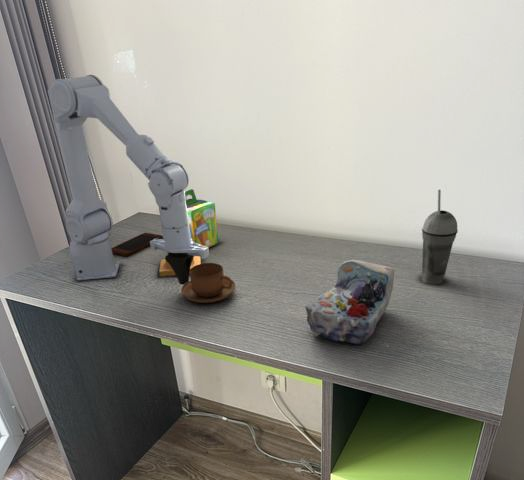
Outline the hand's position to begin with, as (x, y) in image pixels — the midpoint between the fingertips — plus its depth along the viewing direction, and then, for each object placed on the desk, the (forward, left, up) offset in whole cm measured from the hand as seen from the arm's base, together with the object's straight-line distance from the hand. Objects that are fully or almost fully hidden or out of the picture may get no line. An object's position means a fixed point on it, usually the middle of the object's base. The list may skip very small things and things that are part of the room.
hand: (184, 282), depth 112 cm
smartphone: (-14, +32, -2) cm, 35 cm away
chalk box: (+3, +28, -2) cm, 28 cm away
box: (-1, +13, -2) cm, 13 cm away
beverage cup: (+56, -7, -2) cm, 56 cm away
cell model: (+33, -23, -2) cm, 40 cm away
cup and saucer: (+5, -4, -2) cm, 7 cm away
